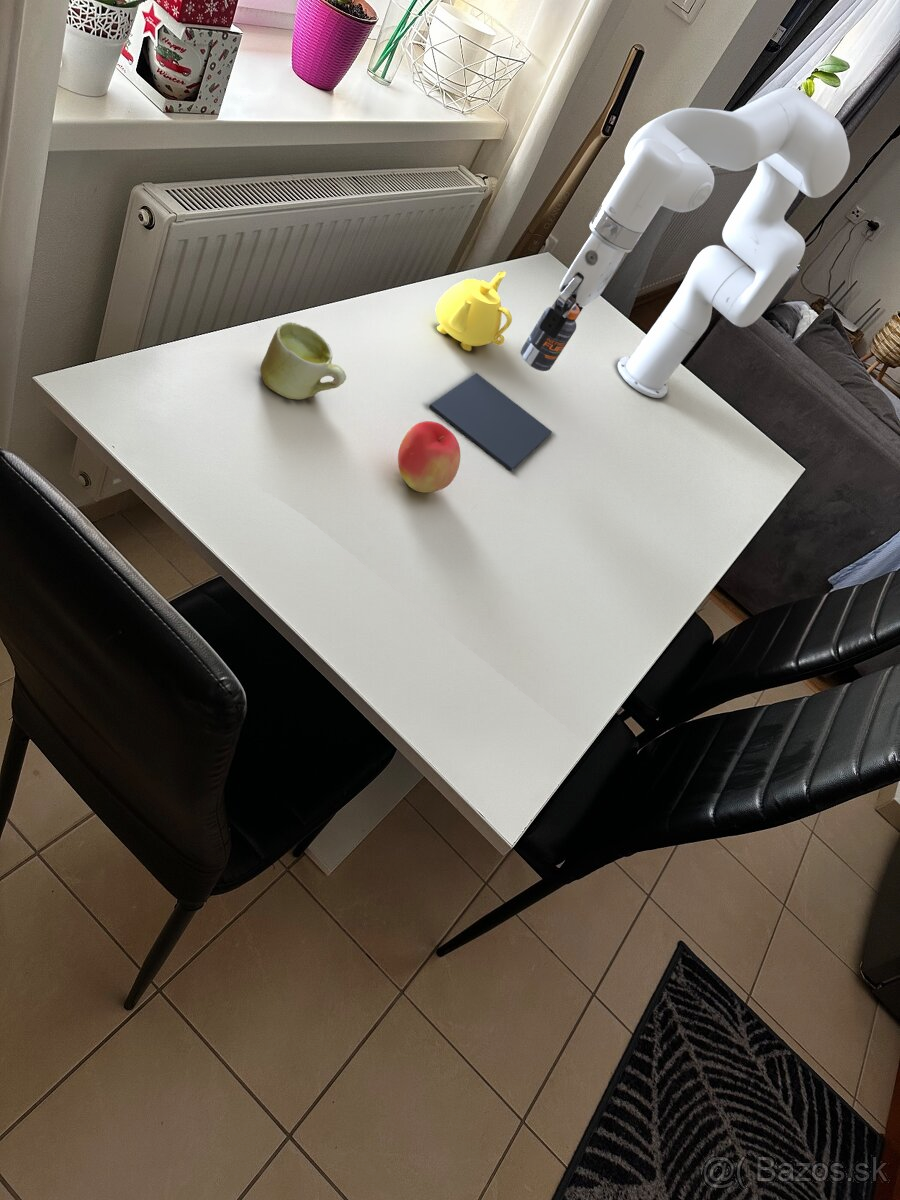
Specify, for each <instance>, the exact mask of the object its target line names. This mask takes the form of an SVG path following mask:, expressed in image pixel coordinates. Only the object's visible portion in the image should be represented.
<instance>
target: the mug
mask: <svg viewBox="0 0 900 1200" xmlns="http://www.w3.org/2000/svg"><path fill="white" fill-rule="evenodd" d="M332 361H333V352H332V348H331V346H330V344H329V343H328V341H326V339H325V338H324V337H322V336H321V334H320V333H318V332H317V331H316V330H314V329H313V328H311V327H309V326H306V325H302V324H299V323H297V322H292V321H288V322H284V323H282V324H280V325H279V326H278V327H276V330H275V332H274V333H273V336H272V338H271V341H270V343H269V345H268V347H267V350H266V354H265V355H264V357H263V359H262V362H261V364H260V376H261V379H262V380H263V382H264V385H266V387H267V388H268V389H270V390H271V391H273V392H275V393H277V395H280V396H282V397H283V398H287V399H289V400H305V399H308V398H310V397H313V396H315V395H316V394H317V393H321V392H322V391H328V390H331V389H335V388H339V387H340V386H341V385H343V384H344V383H345V381H346V379H347V374H346V372H345V371H344V369H343V368H342V367H341V366H340V365H337V364H333V363H332ZM324 377H332V378H333V380H332V381H325V382H324V381H323V382H322V381H321V380H322V379H323V378H324Z"/></svg>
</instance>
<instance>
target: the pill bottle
mask: <svg viewBox="0 0 900 1200" xmlns="http://www.w3.org/2000/svg"><path fill="white" fill-rule="evenodd" d="M571 303H572V302H571V301H570V300H568V302H567V304H568V307H569V306H570V304H571ZM551 307H552V306H549V307H547V308H546V309H544V310H543V313H542V314H541V316H540V318H539V319H538V320H537V323H536V324H535V326H534V327H533V329H532V331H531V332H530V334H529V335H528V338H527V339H526V340H525V342H524V344H523V345H522V347H521V349H520V356H521V358H522V360H523V361H524V362H525V363H526V364H527V365H528V366H529V367H530V368H533V369H534V370H537V371H539V372H547V371H550V370H551V368H552V367H553V366H554V365H555V362H556V361H557V359H558V358H559V356H560V355H561V353H562V352H563V350H564V349H565V347H566V346H567V344H568V343H569V341H570V340H571V338H572V336H573V335H574V333H575V332H576V330H577V321H576V320H577V319H578V317H579V315H580V314H581V312H580V310H579V308H578V306H577V305H575V306H574V308H573V309H572V310H571V312H570V313H569V315H568V316H567V318H568V320H567V321H566V323H565V324H564V326H563V328H562V329H561V331H560V332H559V334H558V336H557V337H556V338H555V339H553V338H551V337H550V336H549V335H548V334H546V333H545V332H544V331H542V330H541V329H540V325H541V323H542V321H543V320H544V318H545V316H546V315H547V313H548V311H549V310H550V308H551ZM579 313H580V314H579ZM578 314H579V315H578ZM577 316H578V317H577ZM575 319H576V320H575Z"/></svg>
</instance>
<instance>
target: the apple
mask: <svg viewBox="0 0 900 1200" xmlns="http://www.w3.org/2000/svg"><path fill="white" fill-rule="evenodd" d="M397 452H398V453H397V464H398V465H397V466H398V470H399V473H400V475H401V478H402V480H403V481H404V483H405V484H406V485H407V486H408V487H410V489H412V490H414V491H415V492H418V493H432V492H437V491H441V490H443V489H445V488H447V487H448V486H449V485H450V484H451V483H452V482H453V481H454V479H455V477H456V475H457V473H458V471H459V468H460V465H461V447H460V444H459V441H458V439H457V437H456V436H455V434H454V433H453V432H452V431H450V429H448V428H447V427H446V426H444V425H443V424H441V423H440V422H437V421H429V420H427V421H420V422H418V423H416V424H414V425H413V426H412V427H411V428H410V429H409V430H408V431H407V432H406V434H405V435H404V437H403V438H402V440H401V443H400V445H399V448H398V451H397Z"/></svg>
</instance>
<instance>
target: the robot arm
mask: <svg viewBox="0 0 900 1200" xmlns="http://www.w3.org/2000/svg"><path fill="white" fill-rule="evenodd" d="M850 161H851V152H850V147H849V142H848V137H847V135H846V130H845V129H844V127H843V125H842V124H841V122H840V121H839V119H837V117H835V116H834V115H832V113H830V112H829V111H828V110H826V109H825V108H823V107H822V106H821V105H820V104H818V103H817V102H816V101H815V100H813V98H811V97H810V96H808V95H807V94H806V93H805V92H803V91H801V90H800V89H797V88H795V87H790V86H783V87H781V88H777V89H775V90H772V91H770V92H768V93H767V94H765V95H763V96H761V97H758V98H757V99H755V100H753V101H750V102H749V103H747V104H745V105H743V106H741V107H739V108H737V109H735V110H733V111H728V110H723V109H722V110H721V109H714V108H713V109H712V108H701V107H681V108H676V109H673V110H670V111H668V112H666V113H664V114H662V115H659V116H658V117H656V118H654V119H652V120H651V121H649V122H647V123H646V124H644V125H643V126H642V127H640V128H639V129H638V130H637V131H636V132H635V133H634V134H633V135H632V136H631V138H630V139H629V141H628V143H627V145H626V147H625V151H624V166H623V167H622V169H621V170H620V172H619V174H618V175H617V177H616V178H615V180H614V182H613V184H612V185H611V187H610V189H609V191H608V192H607V193H606V196H605V197H604V199H603V201H602V203H600V206H599V208H598V209H597V210H596V212H595V214H594V215H593V218H592V219H591V221H590V223H589V229H590V231H591V233H590V235H589V237H588V239H587V240H586V241H585V242H584V243H583V246H582V248H581V249H580V251H579V252H578V254H577V256H576V257H575V258H574V260H573V262H572V263H571V265H570V267H569V269H568V270H567V272H566V273H565V275H564V277H563V278H562V281H561V282H560V284H559V287H558V288H559V289H558V290H559V292H560V294H559V295H558V297H557V298H556V299H555V301H554V302H553V304H552V306H550V307H551V308H550V310H549V311H548V313H547V315H546V316H545V318H544V320H543V321H542V323H541V325H540V329H541V330H542V331H544V332H545V333H546V334H548V335H549V336H550V337H551V338H553V339H555V338H556V337H557V336H558V334H559V332H560V331H561V329H562V328H563V326H564V324H565V323H566V321H567V320H568V318H567V316H568V315H569V313H570V312H571V310H572V309H573V308H574V306H575V305H577V306H578V308H579V310H580V313H579V314H578V316H577V318H578V317H579V316H580V314H581V313H582V311H583V309H584V307H585V306H587V305H589V304H590V303H591V302H593V301H594V300H596V299H597V298H598V297H600V296H601V295H602V293H603V292H604V291H605V288H606V287H607V285H608V283H609V282H610V280H611V278H612V276H613V275H614V273H615V271H616V270H617V268H618V266H619V265H620V263H621V261H622V259H623V258H624V256H625V254H626V253H628V254H629V253H631V252H632V251H633V250H634V248H635V246H636V245H637V244H638V242H639V240H640V239H641V237H642V236H643V234H644V233H645V231H646V229H647V227H649V225H650V223H651V222H652V220H653V219H654V217H655V215H657V212H658V211H659V209H660V208H661V207H664V208H665V209H668V210H670V211H673V212H677V213H688V212H691V211H694V210H696V209H698V208H699V207H701V206H702V205H703V204H704V203H705V202H706V201H707V200H708V198H709V197H710V195H711V194H712V192H713V189H714V188H715V187H714V186H715V174H714V171H713V169H712V168H711V166H713V167H716V168H717V167H718V168H719V169H723V170H727V171H731V172H741V171H745V170H748V169H750V168H751V167H753V166H755V165H757V169H756V171H755V173H754V175H753V177H752V179H751V181H750V183H749V185H748V186H747V188H746V189H745V191H744V192H743V194H742V196H741V198H740V199H739V201H738V202H737V204H736V206H735V207H734V209H733V210H732V212H731V213H730V215H729V217H728V218H727V221H726V222H725V224H724V225H723V228H722V233H721V237H722V240H723V242H724V244H725V245H726V246H727V247H728V248H729V249H728V248H726V247H724V246H722V245H718V244H713V245H708V246H706V247H704V248H703V249H702V250H701V251H700V252H699V253H697V255H696V256H695V257H694V260H693V261H692V263H691V264H690V267H689V268H688V270H687V273H686V274H685V277H684V278H683V281H682V283H681V284H680V286H679V288H678V289H677V291H676V292H675V294H674V295H673V297H672V299H671V300H670V301H669V303H668V304H667V305H666V307H664V309H663V311H662V312H661V314H660V316H658V318H657V320H655V323H654V324H653V325H652V326H651V328H650V330H649V331H648V332H647V334H646V335H645V336H644V338H643V339H642V340H641V342H640V343H639V345H638V346H637V347H636V349H635V351H634V352H633V353H632V355H631V356H624V357H623V356H622V357H621V358H620V359H619V361H618V362H617V370H618V373H619V374H620V376H621V377H622V379H623V380H624V381H625V382H626V383H627V384H628V385H629V386H630V387H631V388H633V390H636V391H637V392H639V393H641V394H642V395H645V396H647V397H650V398H656V399H660V398H663V397H665V395H666V394H667V393H668V390H669V389H668V384H667V382H668V380H669V379H670V378H671V377H672V375H673V373H674V372H675V371H676V370H677V368H678V367H679V366H680V365H681V363H682V362H683V361H684V360H685V358H686V357H687V356H688V354H689V353H690V351H691V350H692V349H693V347H694V346H695V345H696V344H697V342H698V341H699V339H700V338H701V337H702V336H703V334H704V333H705V332H706V331H707V329H708V327H709V325H710V322H711V319H712V313H713V308H714V309H715V310H716V311H718V312H719V314H721V315H722V316H723V317H724V318H725V319H726V320H728V321H729V322H730V323H731V324H733V325H734V326H736V327H738V328H746V327H749V326H751V325H752V324H754V323H755V322H756V321H757V320H758V319H759V318H761V316H762V315H763V314H764V313H765V312H766V310H767V309H768V307H769V306H770V305H771V304H772V302H773V300H774V299H775V298H776V296H777V295H778V294H779V292H780V291H781V290H782V288H783V287H784V285H785V284H786V282H787V281H788V280H789V278H790V277H791V276H792V274H793V273H794V272H795V270H796V269H797V268H798V266H799V264H800V262H801V261H802V258H803V257H804V254H805V250H806V242H805V239H804V237H803V235H801V234H800V233H799V232H798V231H797V230H796V229H795V228H794V227H792V226H791V225H790V223H788V222H787V221H786V219H785V215H786V213H787V212H788V211H789V209H790V207H791V205H792V204H793V202H794V201H795V199H796V198H797V197H798V195H799V192H801V193H803V194H804V195H805V196H807V197H808V198H812V199H818V198H822V197H824V196H826V195H828V194H829V193H830V192H832V191H833V190H834V189H836V187H837V186H838V185H839V184H840V183H841V181H842V180H843V178H844V177H845V175H846V173H847V171H848V168H849V167H850V166H849V165H850ZM710 165H711V166H710ZM568 300H570V301H571V302H572V303H571V304H570V306H569V307H568V304H567V302H568ZM577 318H576V319H575V321H576V320H577Z"/></svg>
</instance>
